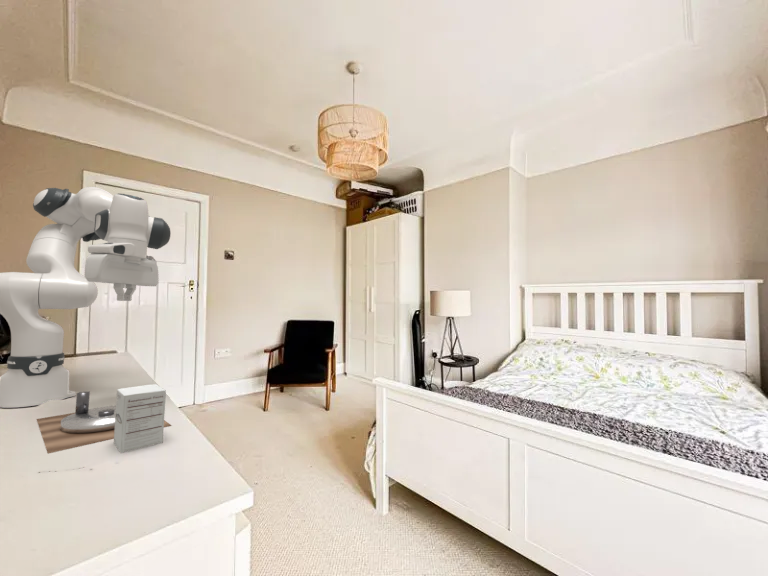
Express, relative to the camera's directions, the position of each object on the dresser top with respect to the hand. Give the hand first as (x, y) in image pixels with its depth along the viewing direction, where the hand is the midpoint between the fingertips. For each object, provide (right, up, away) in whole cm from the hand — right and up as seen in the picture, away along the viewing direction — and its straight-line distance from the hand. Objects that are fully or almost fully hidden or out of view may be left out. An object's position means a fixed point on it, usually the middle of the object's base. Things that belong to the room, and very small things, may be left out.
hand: (124, 300), depth 92 cm
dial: (+6, -29, -11) cm, 31 cm away
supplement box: (+21, -31, -23) cm, 43 cm away
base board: (+4, -31, -12) cm, 33 cm away
